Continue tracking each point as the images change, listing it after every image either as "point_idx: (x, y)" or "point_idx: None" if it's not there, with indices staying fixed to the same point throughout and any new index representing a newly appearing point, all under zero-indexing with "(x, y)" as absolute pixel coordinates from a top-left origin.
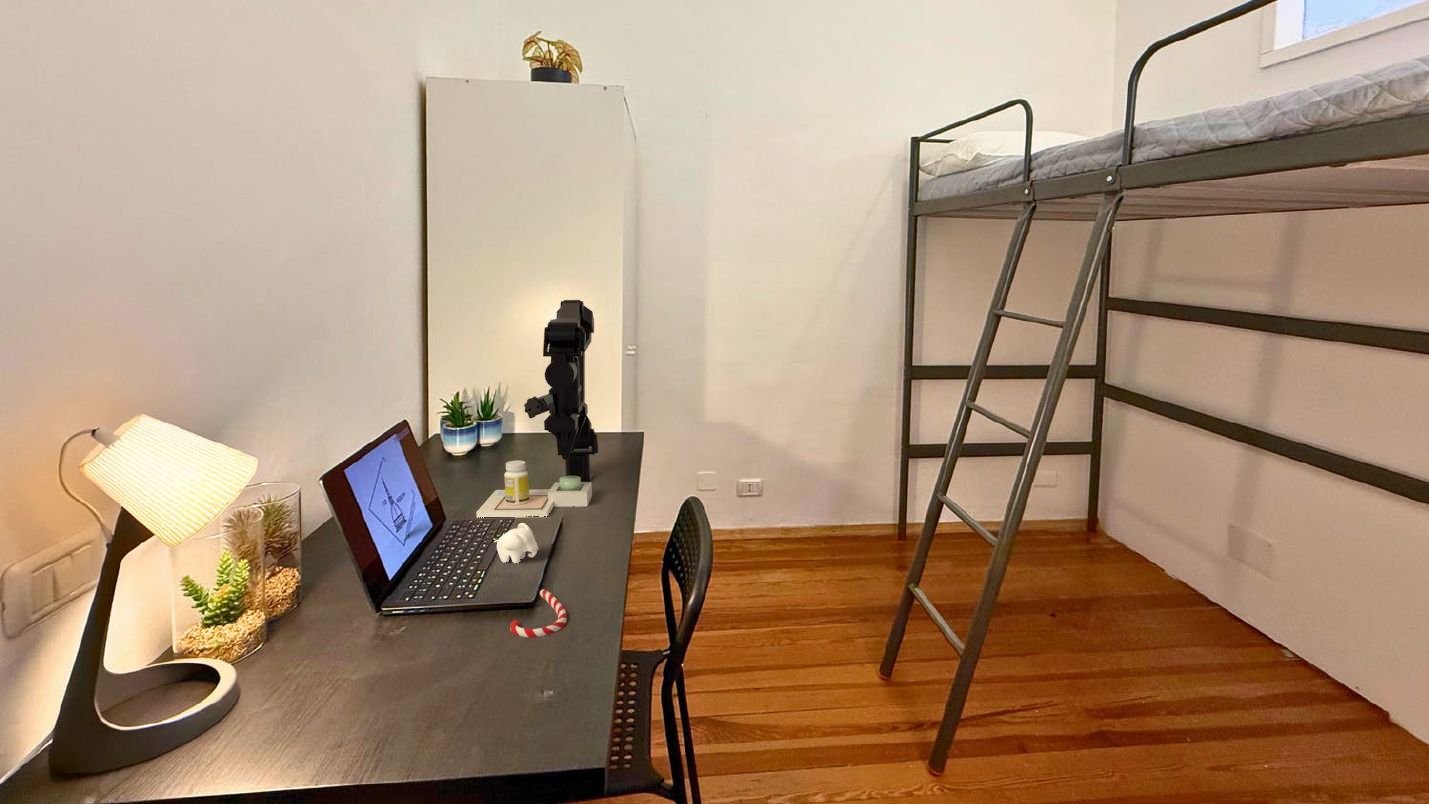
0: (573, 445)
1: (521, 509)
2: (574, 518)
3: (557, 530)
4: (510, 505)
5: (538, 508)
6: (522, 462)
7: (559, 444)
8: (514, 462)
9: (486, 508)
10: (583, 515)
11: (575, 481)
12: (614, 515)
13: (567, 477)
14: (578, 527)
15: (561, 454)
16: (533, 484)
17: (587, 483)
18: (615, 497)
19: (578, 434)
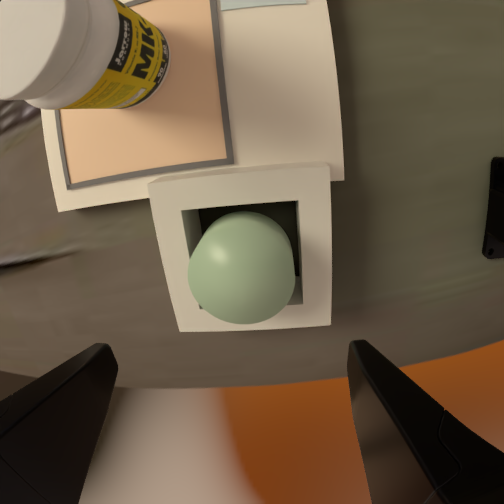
0: (354, 403)
1: (57, 119)
2: (80, 285)
3: (6, 262)
4: None
5: (66, 176)
6: (16, 75)
7: (9, 404)
8: (20, 23)
9: None
10: (108, 304)
11: (206, 307)
12: (131, 371)
13: (254, 265)
14: (34, 304)
15: (70, 359)
16: (469, 51)
17: (310, 314)
18: (299, 362)
19: (372, 497)
